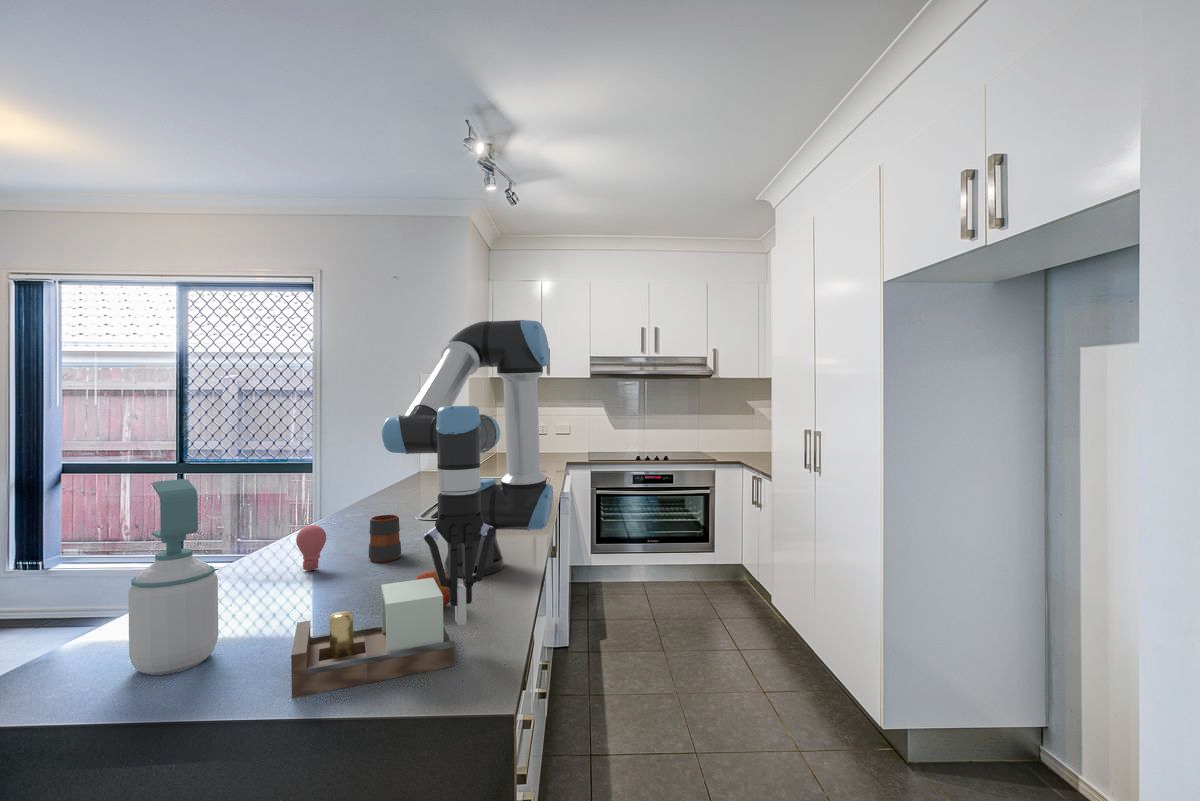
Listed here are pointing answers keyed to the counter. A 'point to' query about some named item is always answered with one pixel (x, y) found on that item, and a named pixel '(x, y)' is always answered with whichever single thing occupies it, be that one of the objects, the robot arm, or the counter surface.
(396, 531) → the mug
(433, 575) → the apple
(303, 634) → the housing base
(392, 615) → the cover
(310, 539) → the light bulb
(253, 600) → the counter surface
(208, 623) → the soap bottle
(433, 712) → the counter surface
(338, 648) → the brass peg
